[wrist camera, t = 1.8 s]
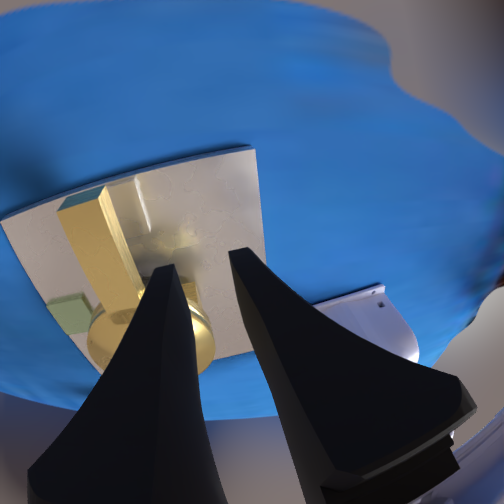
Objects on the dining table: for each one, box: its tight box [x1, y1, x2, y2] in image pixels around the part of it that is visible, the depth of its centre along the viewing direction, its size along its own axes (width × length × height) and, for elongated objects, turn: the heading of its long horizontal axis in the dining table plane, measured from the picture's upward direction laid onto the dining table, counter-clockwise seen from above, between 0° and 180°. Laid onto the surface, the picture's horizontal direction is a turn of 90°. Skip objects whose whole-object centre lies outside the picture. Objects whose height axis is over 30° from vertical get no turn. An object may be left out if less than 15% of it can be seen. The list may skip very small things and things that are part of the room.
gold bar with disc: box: [56, 185, 216, 375], centre depth 17 cm, size 15×8×5 cm, turn 6°
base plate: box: [0, 145, 266, 375], centre depth 20 cm, size 18×19×4 cm
